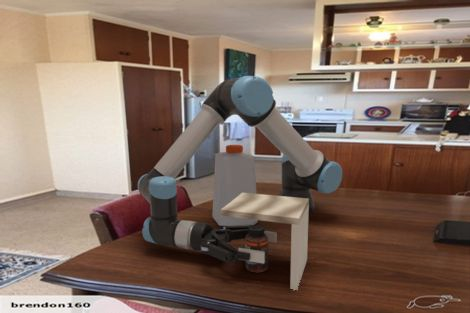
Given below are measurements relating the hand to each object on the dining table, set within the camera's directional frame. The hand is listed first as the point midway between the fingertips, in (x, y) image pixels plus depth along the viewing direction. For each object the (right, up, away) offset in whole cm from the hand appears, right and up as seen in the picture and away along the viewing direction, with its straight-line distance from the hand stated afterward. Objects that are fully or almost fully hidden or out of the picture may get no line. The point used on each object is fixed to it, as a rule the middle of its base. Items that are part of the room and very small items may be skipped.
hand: (270, 246), depth 83 cm
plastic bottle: (-9, -1, +37) cm, 38 cm away
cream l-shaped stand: (-1, -6, +2) cm, 7 cm away
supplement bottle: (-3, -6, +2) cm, 8 cm away
